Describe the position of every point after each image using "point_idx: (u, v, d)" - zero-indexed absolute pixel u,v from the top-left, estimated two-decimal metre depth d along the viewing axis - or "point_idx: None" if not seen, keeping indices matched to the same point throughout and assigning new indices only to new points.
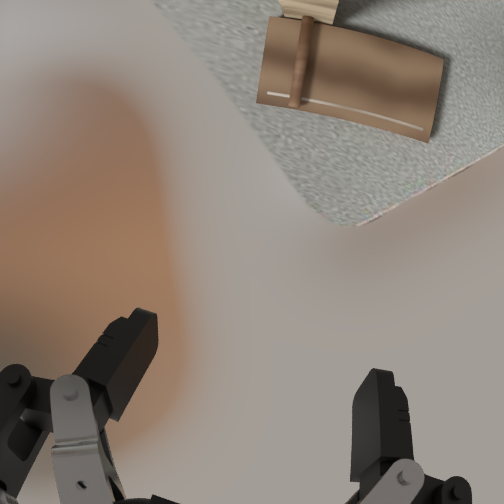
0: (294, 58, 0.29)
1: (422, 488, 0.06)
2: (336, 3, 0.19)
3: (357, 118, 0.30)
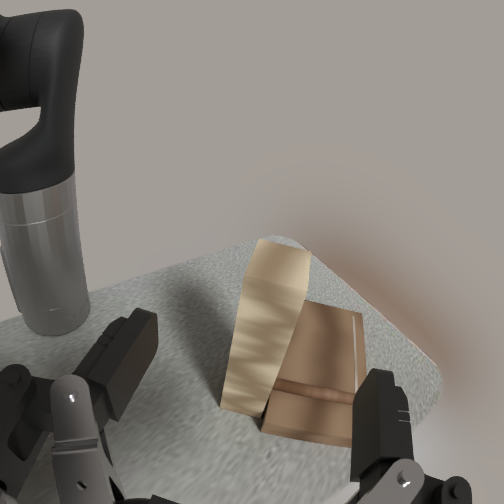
0: (315, 404, 0.28)
1: (422, 488, 0.06)
2: None
3: (362, 358, 0.34)
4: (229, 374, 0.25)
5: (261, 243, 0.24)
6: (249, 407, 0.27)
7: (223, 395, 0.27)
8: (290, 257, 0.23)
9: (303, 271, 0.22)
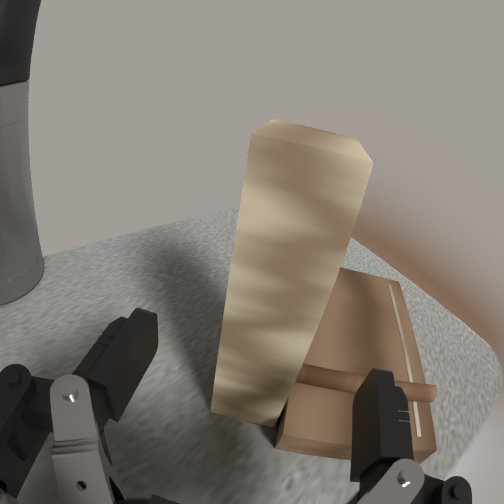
0: None
1: (422, 488, 0.06)
2: None
3: (410, 336, 0.24)
4: (224, 353, 0.15)
5: (277, 121, 0.14)
6: (257, 410, 0.17)
7: (215, 391, 0.17)
8: (327, 135, 0.13)
9: (354, 147, 0.11)
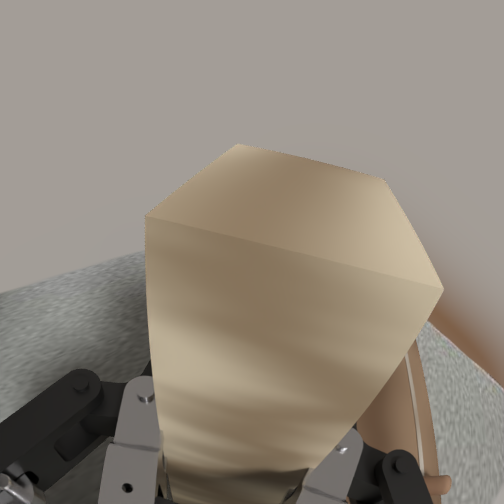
0: None
1: (364, 459, 0.07)
2: None
3: (424, 404, 0.18)
4: (175, 480, 0.09)
5: (243, 150, 0.08)
6: None
7: (175, 499, 0.11)
8: (334, 180, 0.07)
9: (391, 218, 0.05)
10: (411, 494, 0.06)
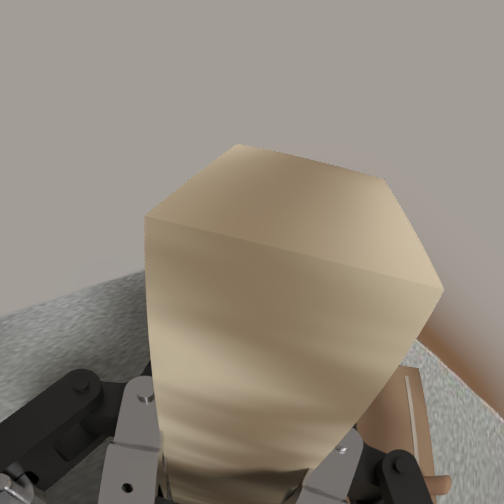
0: None
1: (364, 459, 0.07)
2: None
3: (427, 464, 0.14)
4: (175, 480, 0.09)
5: (242, 151, 0.08)
6: None
7: (175, 499, 0.11)
8: (334, 181, 0.07)
9: (392, 218, 0.05)
10: (411, 494, 0.06)
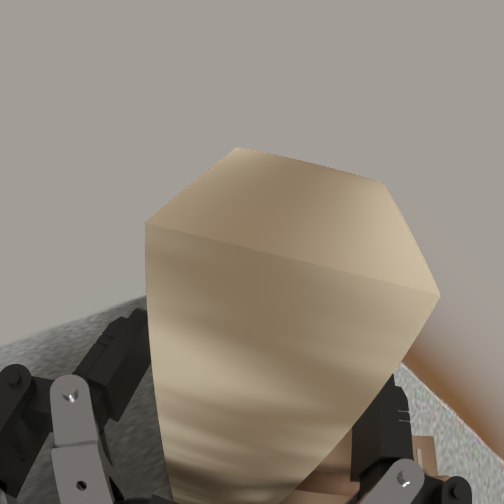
0: None
1: (422, 488, 0.06)
2: None
3: None
4: (176, 480, 0.09)
5: (243, 154, 0.08)
6: None
7: (175, 499, 0.11)
8: (333, 184, 0.07)
9: (389, 222, 0.06)
10: None
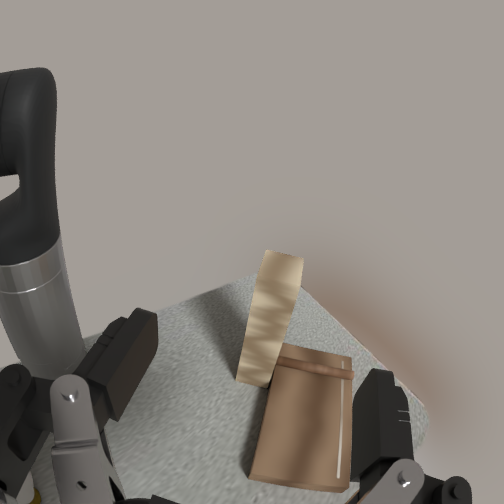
0: (300, 454, 0.28)
1: (422, 488, 0.06)
2: None
3: (348, 406, 0.34)
4: (244, 350, 0.35)
5: (268, 253, 0.33)
6: (259, 378, 0.36)
7: (238, 369, 0.36)
8: (288, 262, 0.32)
9: (297, 272, 0.31)
10: None
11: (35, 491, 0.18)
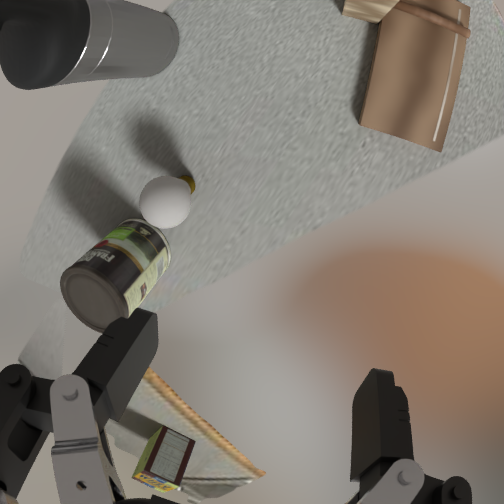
0: (405, 110, 0.30)
1: (422, 488, 0.06)
2: None
3: (458, 66, 0.25)
4: (348, 3, 0.22)
5: None
6: (367, 18, 0.26)
7: (344, 10, 0.25)
8: None
9: None
10: None
11: (189, 182, 0.39)
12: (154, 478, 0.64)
